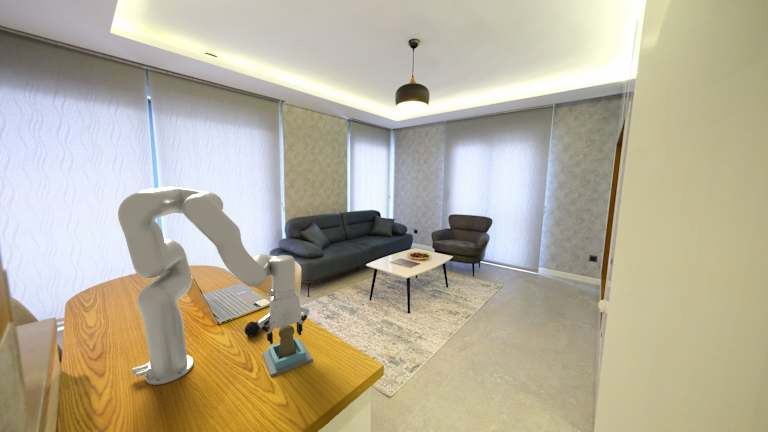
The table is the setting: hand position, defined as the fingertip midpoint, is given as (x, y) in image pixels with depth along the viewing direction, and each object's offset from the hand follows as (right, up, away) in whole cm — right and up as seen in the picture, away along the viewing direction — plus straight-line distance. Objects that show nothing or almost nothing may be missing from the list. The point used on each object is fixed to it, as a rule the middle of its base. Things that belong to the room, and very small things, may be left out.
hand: (285, 337), depth 98 cm
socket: (0, -8, +1) cm, 8 cm away
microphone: (-16, -5, +21) cm, 27 cm away
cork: (0, -7, +1) cm, 7 cm away
